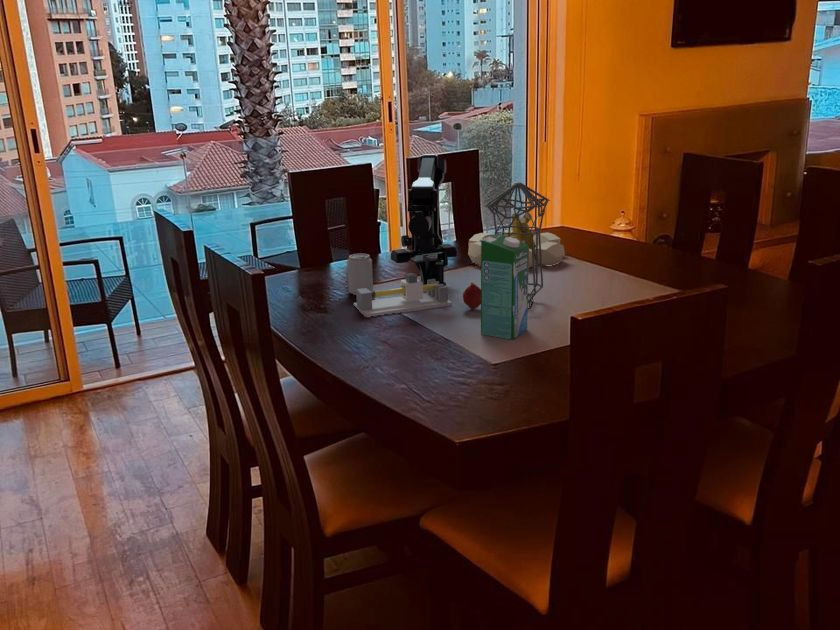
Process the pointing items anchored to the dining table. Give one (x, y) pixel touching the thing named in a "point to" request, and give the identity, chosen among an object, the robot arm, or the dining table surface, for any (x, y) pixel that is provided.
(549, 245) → the campfire
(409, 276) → the sleeve
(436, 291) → the linear slider
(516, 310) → the milk carton
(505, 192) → the geometric lantern
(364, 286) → the can
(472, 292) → the onion
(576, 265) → the dining table surface
